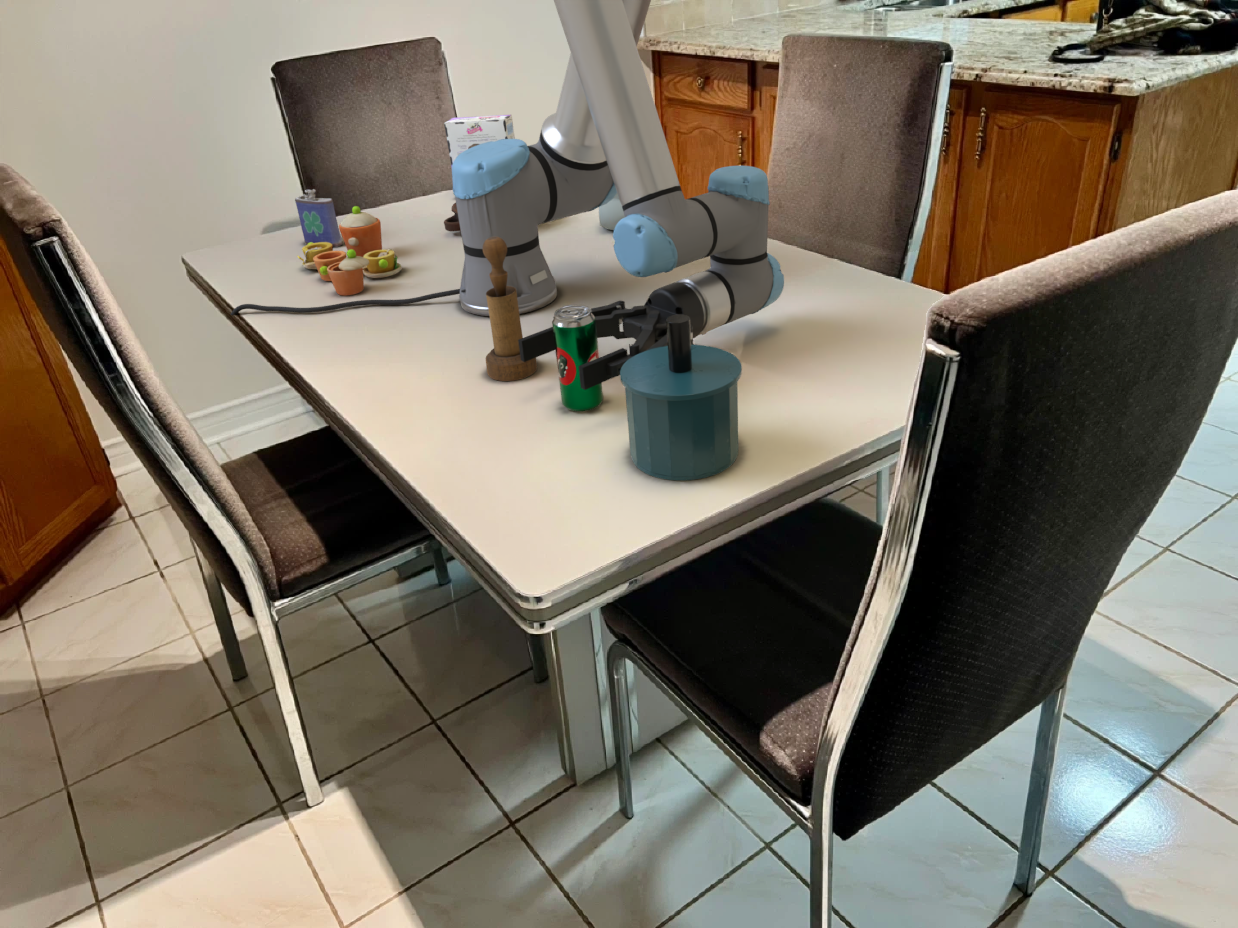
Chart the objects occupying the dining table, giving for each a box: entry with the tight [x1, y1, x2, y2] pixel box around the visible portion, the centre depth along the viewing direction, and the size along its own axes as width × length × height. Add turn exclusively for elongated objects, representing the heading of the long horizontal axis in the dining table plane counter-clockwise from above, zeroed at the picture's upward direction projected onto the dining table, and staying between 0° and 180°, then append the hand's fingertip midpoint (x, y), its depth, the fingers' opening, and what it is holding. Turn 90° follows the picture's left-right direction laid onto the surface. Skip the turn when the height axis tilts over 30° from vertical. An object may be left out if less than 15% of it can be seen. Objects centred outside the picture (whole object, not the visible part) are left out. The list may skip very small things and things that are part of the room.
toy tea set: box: [297, 205, 402, 296], centre depth 165 cm, size 26×16×10 cm, turn 29°
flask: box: [294, 188, 343, 248], centre depth 182 cm, size 9×3×11 cm, turn 61°
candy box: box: [443, 114, 516, 168], centre depth 205 cm, size 14×6×16 cm, turn 79°
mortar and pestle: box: [483, 237, 538, 382], centre depth 120 cm, size 7×6×18 cm
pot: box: [624, 382, 739, 482], centre depth 100 cm, size 12×12×10 cm
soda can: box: [551, 304, 604, 413], centre depth 112 cm, size 5×5×12 cm
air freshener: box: [598, 193, 625, 231], centre depth 177 cm, size 11×8×10 cm
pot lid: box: [619, 314, 743, 401], centre depth 96 cm, size 13×13×7 cm
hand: (550, 364), depth 109 cm, fingers open, 11 cm apart
